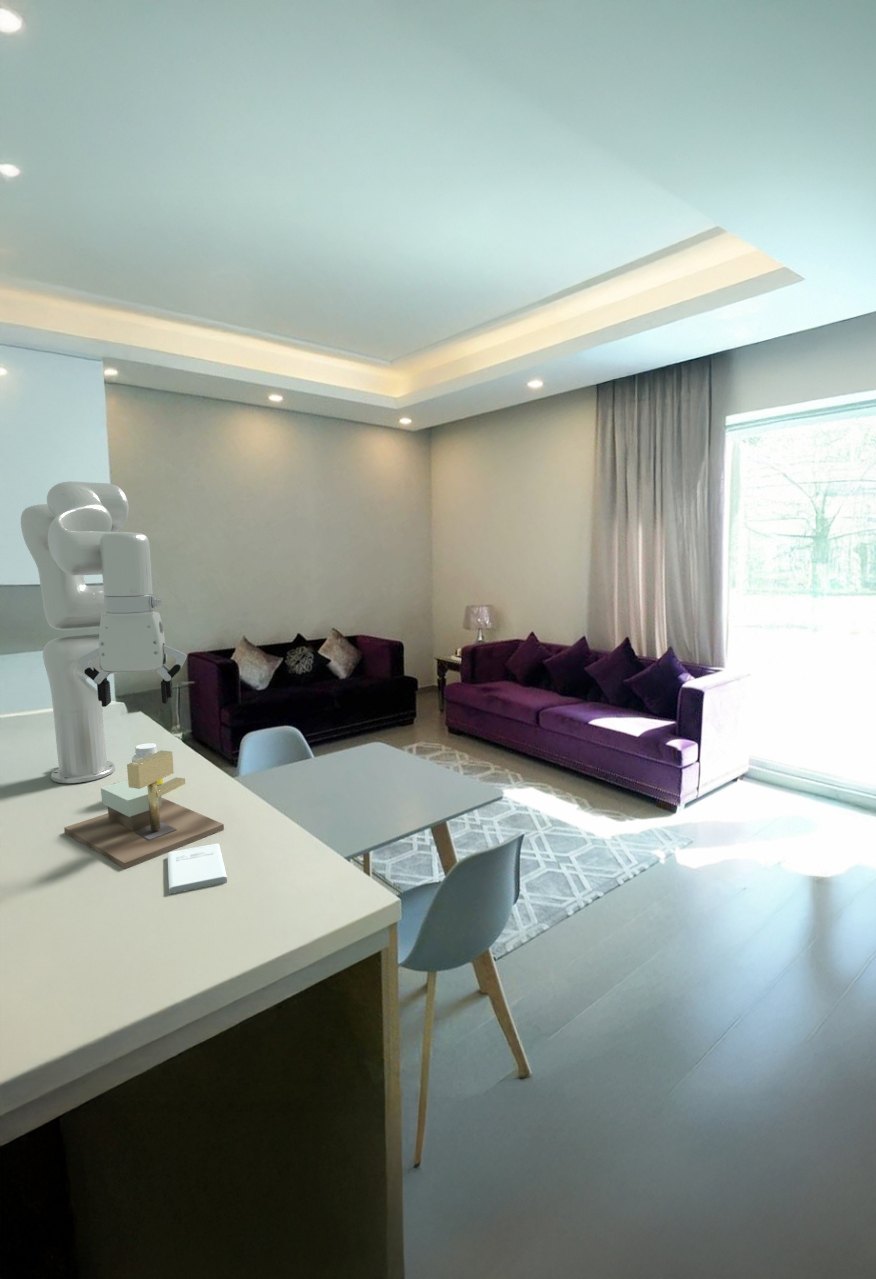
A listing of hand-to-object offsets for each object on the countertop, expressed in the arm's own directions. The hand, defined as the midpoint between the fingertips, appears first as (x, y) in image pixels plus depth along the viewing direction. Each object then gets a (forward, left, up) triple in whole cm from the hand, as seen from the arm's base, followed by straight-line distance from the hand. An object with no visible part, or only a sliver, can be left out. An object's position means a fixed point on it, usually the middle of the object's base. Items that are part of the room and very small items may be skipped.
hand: (136, 703), depth 112 cm
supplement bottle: (-18, +10, -24) cm, 31 cm away
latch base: (-1, 0, -24) cm, 24 cm away
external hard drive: (+20, -2, -25) cm, 31 cm away
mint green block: (-5, 0, -20) cm, 20 cm away
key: (+3, +1, -22) cm, 22 cm away
